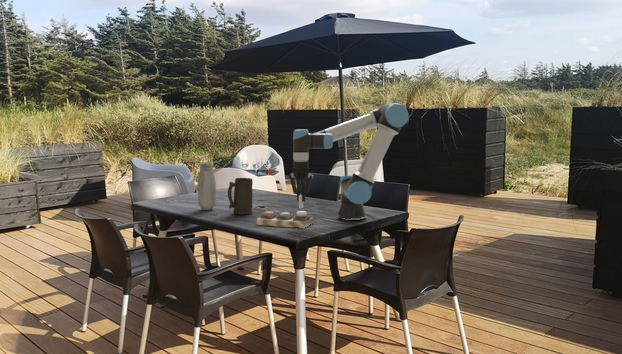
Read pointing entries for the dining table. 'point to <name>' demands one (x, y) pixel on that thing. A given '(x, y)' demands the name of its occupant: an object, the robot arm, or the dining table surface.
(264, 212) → the terracotta button
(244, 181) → the beer stein
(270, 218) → the button panel
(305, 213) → the cream button
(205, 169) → the glass bottle
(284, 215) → the sage button
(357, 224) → the dining table surface
